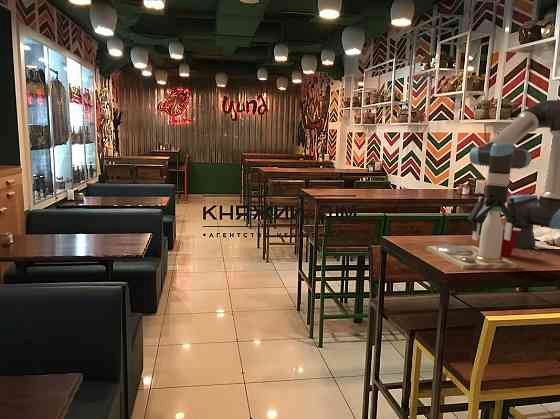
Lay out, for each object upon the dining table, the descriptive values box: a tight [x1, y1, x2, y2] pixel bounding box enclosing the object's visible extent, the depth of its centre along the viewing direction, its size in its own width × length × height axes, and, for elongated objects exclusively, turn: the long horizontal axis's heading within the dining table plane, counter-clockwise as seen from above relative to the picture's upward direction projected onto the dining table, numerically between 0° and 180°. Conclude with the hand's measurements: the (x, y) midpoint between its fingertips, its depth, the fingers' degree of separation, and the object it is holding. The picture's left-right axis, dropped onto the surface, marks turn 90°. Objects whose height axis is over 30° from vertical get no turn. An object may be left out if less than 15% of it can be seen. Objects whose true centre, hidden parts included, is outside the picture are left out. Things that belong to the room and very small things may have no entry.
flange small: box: [461, 257, 475, 263], centre depth 179 cm, size 5×5×1 cm
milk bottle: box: [478, 207, 504, 259], centre depth 181 cm, size 8×8×20 cm
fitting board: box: [425, 245, 518, 270], centre depth 189 cm, size 22×28×2 cm
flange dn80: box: [475, 254, 504, 263], centre depth 182 cm, size 10×10×1 cm
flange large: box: [435, 244, 473, 255], centre depth 194 cm, size 14×14×1 cm
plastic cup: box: [500, 225, 521, 257], centre depth 196 cm, size 11×11×12 cm
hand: (491, 239), depth 181 cm, fingers open, 13 cm apart
